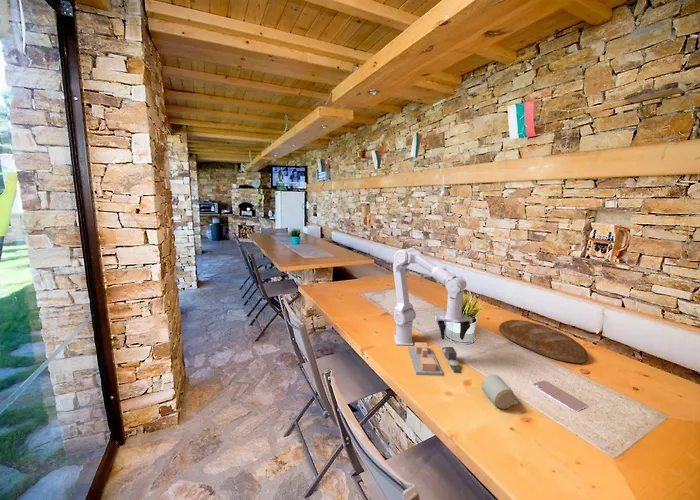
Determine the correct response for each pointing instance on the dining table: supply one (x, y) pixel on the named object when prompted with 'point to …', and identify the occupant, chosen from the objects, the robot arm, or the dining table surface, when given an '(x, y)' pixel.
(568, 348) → the bread
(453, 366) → the stacked ball block column
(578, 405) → the mobile phone
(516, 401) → the ceramic mug
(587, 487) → the dining table surface
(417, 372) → the display stand
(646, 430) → the dining table surface
